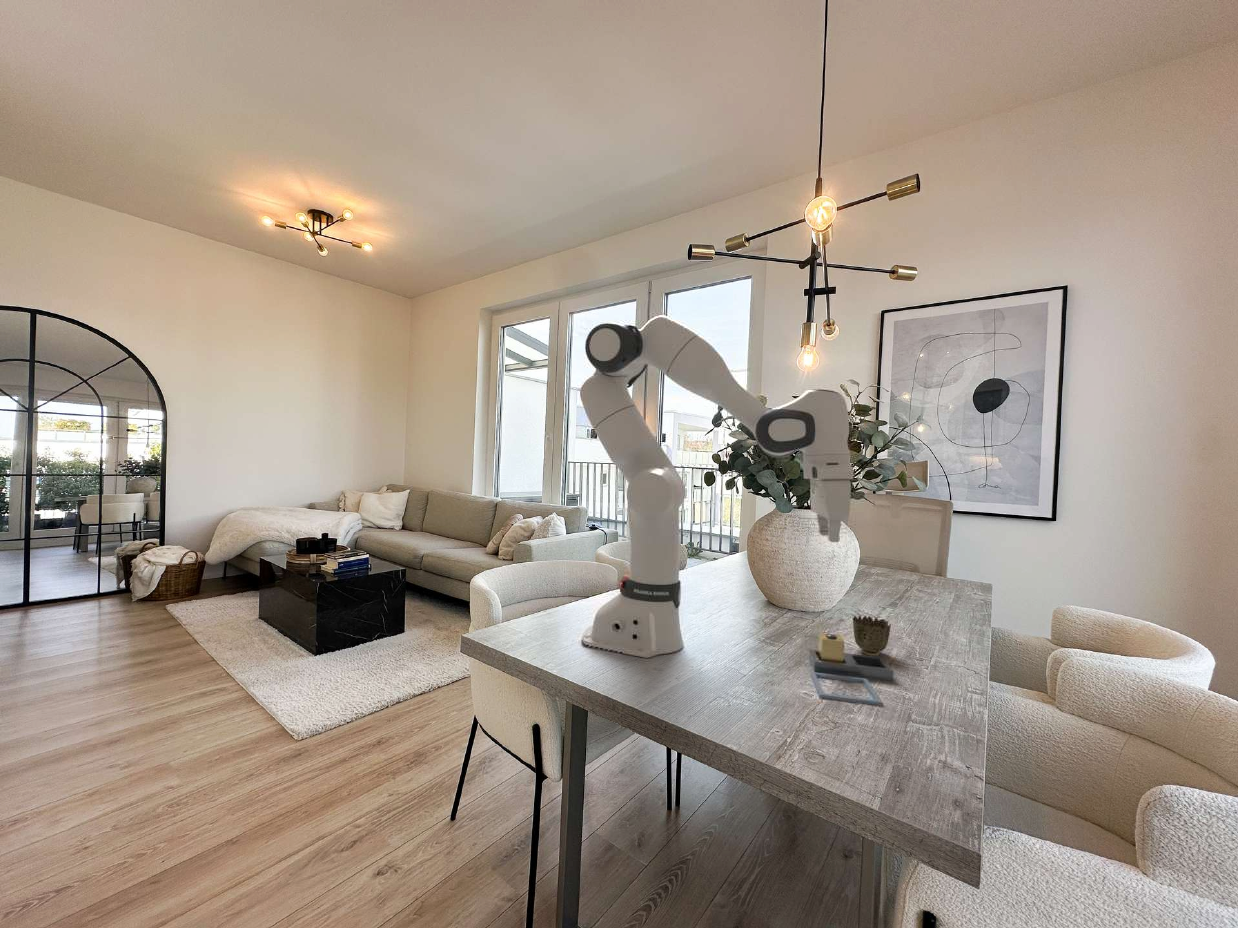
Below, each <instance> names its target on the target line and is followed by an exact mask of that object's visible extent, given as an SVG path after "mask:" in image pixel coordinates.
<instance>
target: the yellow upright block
mask: <svg viewBox="0 0 1238 928" xmlns="http://www.w3.org/2000/svg"><path fill="white" fill-rule="evenodd" d="M817 644H818V645H817V646H818V647H817V650H818V659H819V660H820V661H829V662H838V663H843V661H844V653H845V641H844V639H843V638H842V636H841V634H833V633H825V632H824V633H823V632H818V642H817Z"/></svg>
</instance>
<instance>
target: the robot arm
mask: <svg viewBox="0 0 1238 928" xmlns="http://www.w3.org/2000/svg"><path fill="white" fill-rule="evenodd" d="M584 345H585V346H584V348H585V355H586V357H587V360H588V361H589V363H590V364H591V365H592V367H594V368H595V372H594V373H593V375H592V376H590V377H589V378H587V379H586V380H585V381H584V382H583V384H582V385H581V387H580V390H579V396H580V401H581V403H582V406H583V409H584V411H585V413H586V414H585V415H586V417H587V419H588V421H589V422H590V424H591V427H592V428H593V430H594V432H595V434H596V436H597V438H598V439H599V441H600V444H601V445H602V447H603V449H604V450H605V452H606V454H607V455H608V458H610V461H611V462H612V463H613V464H614V465H615V466H616V468H617V469H618V470H619V471H620V473H621V475H623V477H624V478H625V480H626V481H627V482H628V485H627V488H626V501H627V513H628V526H629V536H630V537H629V539H630V553H629V575H628V574H624V575H623V576H622V577H621V580H620V583H619V592H620V593H619V594H617V595H615V597H612V599H610V600H609V601H607V602H606V603H605V604H603V605H602V606H601V607H599V609H598V610H597V611H596V612H595V616H594V620H593V624H592V625H590V626H589V627H587V629H585V631H584V632H583V633H582V636H581V642H582V641H583V643H584V644H585V645H590V646H594V647H593V648H595V647H600V648H603V649H602V650H605V649H608V650H607V651H610V650H614V651H613V652H615V651H617V653H620V652H622V654H626V655H630V656H636V657H639V658H640V657H642V658H652V657H655V656H659V655H663V654H665V655H666V654H669V653H675V652H678V651H680V650H682V648H683V647H684V645H685V644H684V641H683V636H682V630H681V623H680V609H679V607H680V605H681V597H682V595H681V594H682V586H681V580H680V562H681V541H680V540H681V537H680V507H681V506H682V504H683V503H684V501H685V498H686V485H685V483H684V481H683V479H682V477H681V475H680V473H679V472H678V471H677V469H676V467H675V466H674V464H673V463H672V461H671V460H670V458H669V456H667V454H666V453H665V451H664V449H663V448H662V446H661V445H660V443H659V441H657V439H656V438H655V436H654V434H653V433H652V431H651V430H650V428H649V425H648V423H647V422H646V420H645V419H644V417H643V415H642V414H641V412H640V410H639V408H638V407H637V405H636V403H635V402H634V400H633V398H632V397H631V395H630V393H629V388H630V387H632V386H633V385H634V383H635V382H637V379H639V378H640V377H641V376H642V375H643V373H645V371H646V369H647V367H648V365H649V366H652V367H655V369H657V370H658V371H660V372H661V373H662V374H664V375H665V376H666V377H667V378H669V379H670V380H671V381H673V382H674V383H675V384H677V385H678V386H680V387H682V388H683V389H685V390H686V391H689V392H690V393H692V394H694V395H696V396H697V397H698V396H699V397H701V398H702V399H705V400H707V401H710V402H711V403H714V404H715V405H718V406H719V407H721V409H724V410H725V411H726V412H727V413H729V414H730V415H731V416H732V417H733V418H734V419H735V420H737V421H738V422H739V423H741V424H742V425H743V426H744V427H746V428H747V429H748V430H749V431H750V432H751V434H752V435H753V437H754V439H755V441H756V443H757V445H758V447H759V448H760V449H761V451H762V452H763V453H764V454H766V455H767V456H769V457H772V458H777V459H778V458H779V459H781V458H787V457H789V456H792V455H794V453H796V452H797V451H800V452H802V463H803V464H802V467H803V470H802V471H803V479H805V480H809V481H810V483H809V484H810V485H809V486H810V492H809V493H810V497H809V498H810V499H809V500H810V510H811V511H812V512H813V513H816V520H817V523H818V534H819V535H820V536H822V537H823V536H828V537H827V539H828V541H829V542H830V543H839V542H840V531H841V526H842V521H843V520H844V521H846V520H848V519H849V516H850V511H851V494H852V493H851V489H852V486H851V480H853V479H854V475H855V473H854V468H853V466H852V465H851V463H852V462H851V452H850V448H849V445H848V438H849V435H850V422H849V419H850V418H849V412H848V405H847V402H846V399H845V397H844V396H843V395H842V394H841V393H839V392H837V391H834V390H830V389H821V388H820V389H809V390H805V392H804V393H802V394H801V395H800V396H798V397H797V398H796V399H793V400H792V401H790V402H788V403H786V404H783V405H781V406H778V407H775V408H772V409H771V408H769V407H767V406H766V404H763V403H762V402H761V401H760V400H758V399H757V398H756V397H754V396H753V395H752V394H751V393H750V392H749V391H747V390H746V389H745V388H744V387H742V385H740V384H739V382H738V381H737V380H736V379H735V377H734V376H733V374H732V373H731V371H730V369H729V367H728V366H727V364H726V362H725V360H724V359H723V357H722V356H721V355H720V353H719V352H718V351H717V350H716V349H715V348H714V347H713V346H712V345H711V344H710V343H709V341H707V340H706V339H704V338H703V337H702V335H700V334H698V333H696V332H695V331H694V330H692V329H691V328H689V327H688V326H687V325H684V324H683V323H681V322H679V321H677V320H675V319H673V318H671V317H669V316H666V315H658V316H655V317H653V318H651V319H650V320H648V321H647V322H646V324H645V325H644V326H643V327H642V328H641V329H639V328H638V327H637V326H636V325H634V324H626V323H618V322H617V323H616V322H604V323H600V324H597V325H596V326H594V327H593V328H592V329H591V330H590V331H589V333H588V334H587V337H586V339H585V344H584ZM583 643H582V644H583ZM584 644H583V645H584ZM585 645H584V646H585ZM590 646H589V647H590ZM600 648H599V649H600Z"/></svg>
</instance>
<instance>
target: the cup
mask: <svg viewBox="0 0 1238 928" xmlns="http://www.w3.org/2000/svg"><path fill="white" fill-rule="evenodd" d="M852 627H853V636H854V637H853V638H854V642H855V644H856V646H858V647H859V648H860V649H861V650H860V652H861V653H862V654H865V655H866V656H875V657H879V656H880V652H883V651H884V650H885V649H886V648H887V645H888V642H889V639H890V632H891V627H892V624H891V623H889V621H887V620H885V619H884V618H881V619H879V620H878V617H877V616H876V617H875V618H874V619H873V618H872V616H868V617H867V616H866V615H864V616H863V617H862V616H861V615H859V616H858V617H857V616H856V615H854V616H853V617H852Z"/></svg>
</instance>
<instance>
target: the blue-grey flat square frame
mask: <svg viewBox="0 0 1238 928" xmlns="http://www.w3.org/2000/svg"><path fill="white" fill-rule="evenodd" d="M809 675H810V678H811V681H812V682H813V686H814V687H815V690H816V693H817V695H818V698H819V699H826V700H827V699H828V700H835V701H842V702H851V703H858V704H859V703H860V704H866V705H873V706H874V705H875V706H881V707H882V706H884V702H883V701H882V699H881V698H880V696H879V694H878V693H877V691H876V690H875V689H874V687H873V686H872V684H871V683H870V681H869V679H866V678H858V677H850V676H841V675H833V674H825V673H816V672H814V671H811V672H809ZM818 678H821V679H829V680H838V681H847V682H854V683H861V684H863V685H864V686H865V688H866V689H867V691H868V692H869V694H870V695H871V697H872V698H865V697H857V696H849V695H841V694H835V693H833V694H832V693H828V692H827V693H826V692H824V691H823V688H822V686H821V684H820V681H819V679H818Z"/></svg>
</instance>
